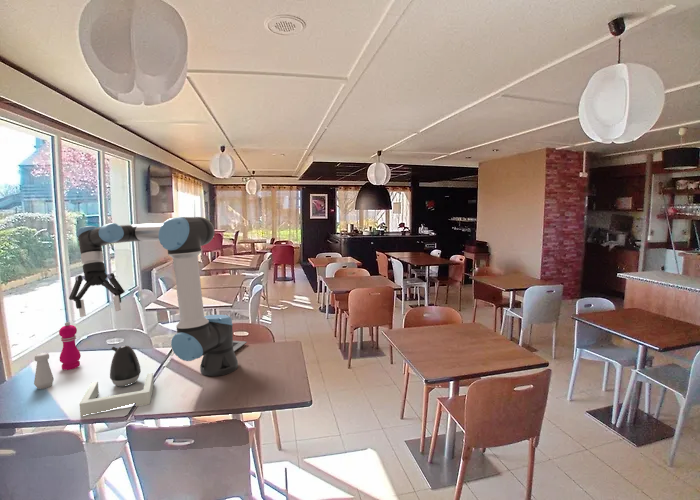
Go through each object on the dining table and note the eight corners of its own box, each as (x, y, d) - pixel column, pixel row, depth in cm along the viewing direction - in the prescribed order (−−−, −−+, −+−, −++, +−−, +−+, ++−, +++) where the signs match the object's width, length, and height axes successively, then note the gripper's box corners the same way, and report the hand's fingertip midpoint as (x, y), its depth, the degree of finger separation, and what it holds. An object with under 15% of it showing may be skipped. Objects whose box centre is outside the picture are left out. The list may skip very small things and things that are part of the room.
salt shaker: (32, 391, 136) (29, 358, 135) (37, 385, 141) (33, 352, 140) (52, 388, 139) (49, 355, 137) (56, 381, 144) (53, 350, 142)
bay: (92, 394, 134) (91, 382, 134) (153, 384, 142) (153, 373, 142) (80, 416, 120) (79, 403, 119) (149, 404, 128) (149, 391, 127)
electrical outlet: (233, 355, 171) (233, 350, 171) (213, 354, 173) (213, 349, 173) (246, 345, 184) (246, 341, 184) (227, 344, 186) (227, 339, 186)
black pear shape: (125, 376, 149) (122, 340, 147) (147, 378, 147) (145, 342, 145) (103, 388, 139) (100, 349, 137) (126, 391, 137) (124, 351, 135)
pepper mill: (56, 369, 155) (52, 323, 153) (74, 362, 162) (70, 318, 160) (67, 372, 153) (63, 325, 150) (85, 365, 159) (81, 320, 157)
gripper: (118, 264, 165) (126, 310, 163) (53, 267, 143) (61, 320, 141) (128, 260, 162) (136, 307, 160) (63, 262, 140) (71, 317, 138)
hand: (101, 313), depth 150 cm, fingers open, 13 cm apart
